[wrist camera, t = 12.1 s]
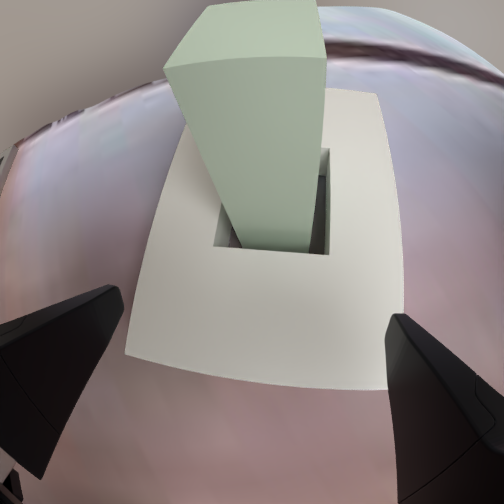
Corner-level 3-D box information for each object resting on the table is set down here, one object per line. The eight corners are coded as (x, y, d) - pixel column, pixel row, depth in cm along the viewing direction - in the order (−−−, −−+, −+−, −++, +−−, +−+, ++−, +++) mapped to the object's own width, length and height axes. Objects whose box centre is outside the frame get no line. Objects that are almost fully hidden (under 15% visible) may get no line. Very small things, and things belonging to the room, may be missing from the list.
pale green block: (308, 254, 17) (326, 58, 5) (243, 250, 18) (162, 68, 6) (310, 186, 19) (315, -1, 7) (253, 183, 20) (208, 5, 7)
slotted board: (379, 384, 14) (397, 389, 11) (149, 355, 16) (124, 354, 13) (370, 120, 20) (376, 93, 18) (209, 114, 23) (200, 89, 20)
